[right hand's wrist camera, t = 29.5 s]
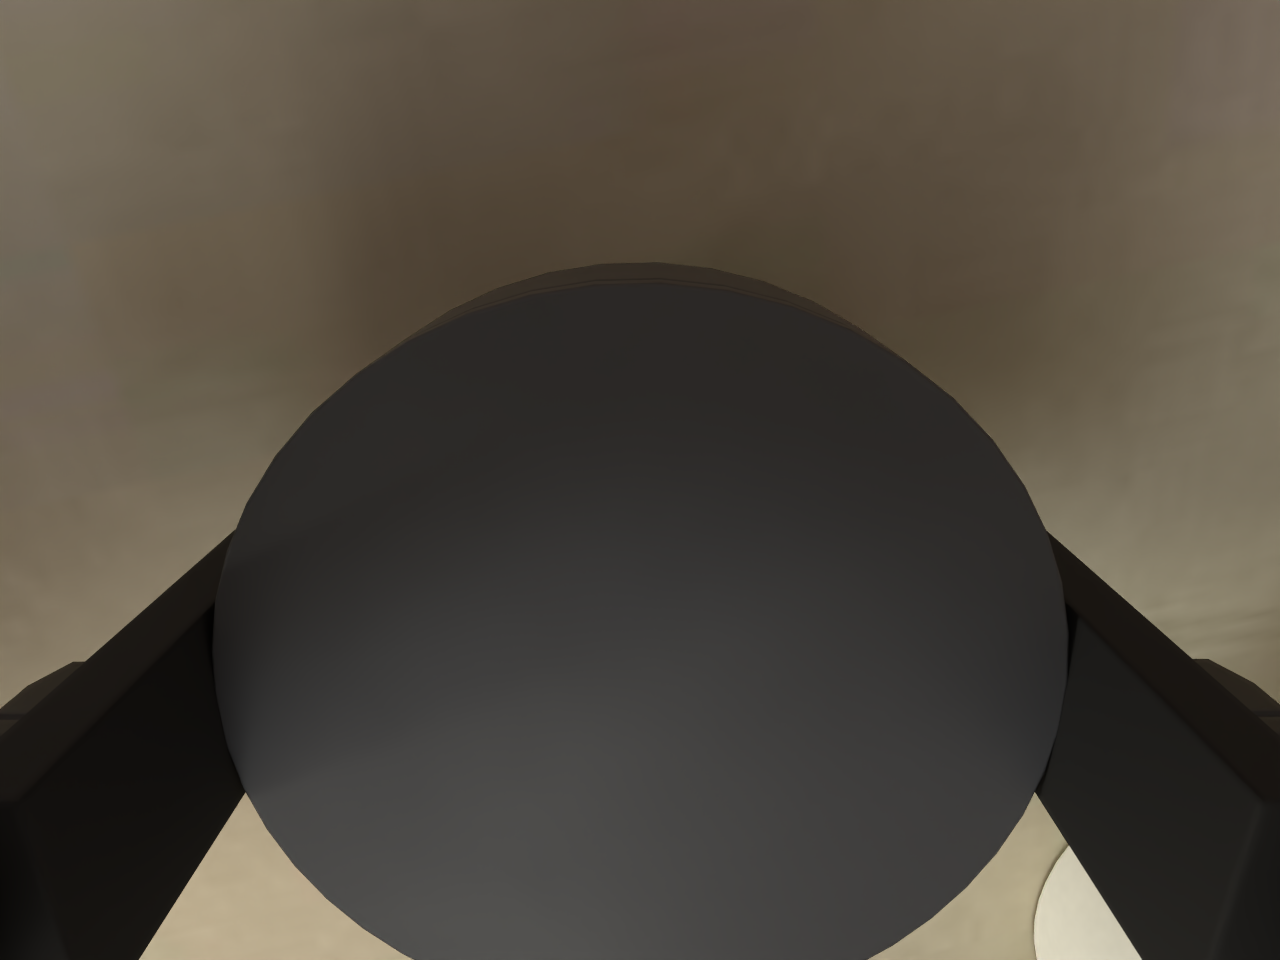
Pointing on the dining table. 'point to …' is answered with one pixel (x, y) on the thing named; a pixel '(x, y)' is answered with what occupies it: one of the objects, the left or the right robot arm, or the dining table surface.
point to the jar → (1077, 918)
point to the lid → (640, 631)
